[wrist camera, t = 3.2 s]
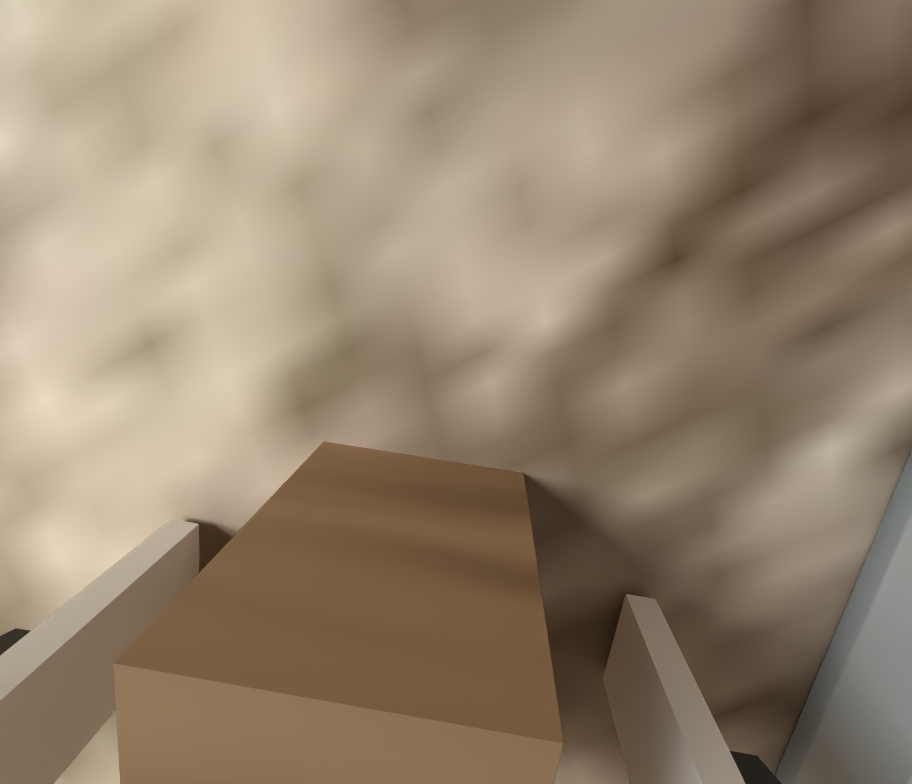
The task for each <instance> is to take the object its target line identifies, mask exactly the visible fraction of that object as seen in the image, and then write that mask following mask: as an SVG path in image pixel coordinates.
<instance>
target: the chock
mask: <svg viewBox="0 0 912 784" xmlns="http://www.w3.org/2000/svg"><path fill="white" fill-rule="evenodd" d="M113 667H114V684H115V700H116V717H117V733H118V750H119V766H120V783H121V784H553V783H554V779H555V775H556V772H557V768H558V764H559V760H560V756H561V752H562V748H563V744H564V742H563V735H562V728H561V722H560V715H559V708H558V701H557V695H556V688H555V681H554V674H553V668H552V661H551V654H550V648H549V641H548V634H547V627H546V621H545V614H544V607H543V600H542V594H541V587H540V580H539V573H538V567H537V560H536V553H535V546H534V540H533V533H532V526H531V520H530V513H529V506H528V499H527V493H526V486H525V479H524V473H519V472H513V471H506V470H500V469H494V468H487V467H481V466H475V465H468V464H462V463H456V462H449V461H443V460H437V459H430V458H424V457H418V456H411V455H405V454H399V453H392V452H386V451H380V450H373V449H367V448H361V447H354V446H348V445H342V444H335V443H329V442H323V443H322V444H321V445H320V446H319V447H318V448H317V449H316V450H315V451H314V453H313V454H312V455H311V456H310V457H309V458H308V459H307V460H306V461H305V462H304V463H303V464H302V465H301V466H300V467H299V468H298V469H297V470H296V472H295V473H294V474H293V475H292V476H291V477H290V478H289V479H288V480H287V481H286V482H285V483H284V484H283V485H282V486H281V487H280V488H279V489H278V490H277V492H276V493H275V494H274V495H273V496H272V497H271V498H270V499H269V500H268V501H267V502H266V503H265V504H264V505H263V506H262V507H261V508H260V509H259V510H258V512H257V513H256V514H255V515H254V516H253V517H252V518H251V519H250V520H249V521H248V522H247V523H246V524H245V525H244V526H243V527H242V528H241V529H240V530H239V532H238V533H237V534H236V535H235V536H234V537H233V538H232V539H231V540H230V541H229V542H228V543H227V544H226V545H225V546H224V547H223V548H222V549H221V550H220V552H219V553H218V554H217V555H216V556H215V557H214V558H213V559H212V560H211V561H210V562H209V563H208V564H207V565H206V566H205V567H204V568H203V569H202V570H201V572H200V573H199V574H198V575H197V576H196V577H195V578H194V579H193V580H192V581H191V582H190V583H189V584H188V585H187V586H186V587H185V588H184V589H183V590H182V592H181V593H180V594H179V595H178V596H177V597H176V598H175V599H174V600H173V601H172V602H171V603H170V604H169V605H168V606H167V607H166V608H165V609H164V610H163V612H162V613H161V614H160V615H159V616H158V617H157V618H156V619H155V620H154V621H153V622H152V623H151V624H150V625H149V626H148V627H147V628H146V629H145V630H144V632H143V633H142V634H141V635H140V636H139V637H138V638H137V639H136V640H135V641H134V642H133V643H132V644H131V645H130V646H129V647H128V648H127V649H126V650H125V652H124V653H123V654H122V655H121V656H120V657H119V658H118V659H117V660H116V661H115V662H114V663H113Z"/></svg>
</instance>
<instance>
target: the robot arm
mask: <svg viewBox="0 0 912 784" xmlns="http://www.w3.org/2000/svg"><path fill="white" fill-rule="evenodd" d="M198 574H199V524H197V523H191V522H185V521H179V520H173V519H171V520H169V521H168V522H167V523H166V524H164V525H163V526H162V527H161V528H159V529H158V530H157V531H156V532H154V533H153V534H152V535H151V536H149V537H148V538H147V539H146V540H144V541H143V542H142V543H141V544H139V545H138V546H137V547H136V548H134V549H133V550H132V551H131V552H129V553H128V554H127V555H126V556H124V557H123V558H122V559H121V560H119V561H118V562H117V563H116V564H114V565H113V566H112V567H111V568H109V569H108V570H107V571H106V572H104V573H103V574H102V575H101V576H99V577H98V578H97V579H95V580H94V581H93V582H92V583H90V584H89V585H88V586H87V587H85V588H84V589H83V590H82V591H80V592H79V593H78V594H77V595H75V596H74V597H73V598H72V599H70V600H69V601H68V602H67V603H65V604H64V605H63V606H62V607H60V608H59V609H58V610H57V611H55V612H54V613H53V614H52V615H50V616H49V617H48V618H47V619H45V620H44V621H43V622H42V623H40V624H39V625H38V626H37V627H35V628H34V629H33V630H32V631H28V630H22V629H17V628H16V629H14V630H12V631H10V632H8V633H6V634H4V635H2V636H0V784H54V782H55V781H56V780H57V779H58V778H59V777H60V775H61V774H62V773H63V772H64V771H65V769H66V768H67V767H68V766H69V765H70V763H71V762H72V761H73V760H74V759H75V758H76V756H77V755H78V754H79V753H80V752H81V750H82V749H83V748H84V747H85V746H86V744H87V743H88V742H89V741H90V740H91V739H92V737H93V736H94V735H95V734H96V733H97V731H98V730H99V729H100V728H101V727H102V725H103V724H104V723H105V722H106V721H107V720H108V718H109V717H110V716H111V715H112V714H113V712H114V711H115V710H116V700H115V684H114V667H113V663H114V662H115V661H116V660H117V659H118V658H119V657H120V656H121V655H122V654H123V653H124V652H125V650H126V649H127V648H128V647H129V646H130V645H131V644H132V643H133V642H134V641H135V640H136V639H137V638H138V637H139V636H140V635H141V634H142V633H143V632H144V630H145V629H146V628H147V627H148V626H149V625H150V624H151V623H152V622H153V621H154V620H155V619H156V618H157V617H158V616H159V615H160V614H161V613H162V612H163V610H164V609H165V608H166V607H167V606H168V605H169V604H170V603H171V602H172V601H173V600H174V599H175V598H176V597H177V596H178V595H179V594H180V593H181V592H182V590H183V589H184V588H185V587H186V586H187V585H188V584H189V583H190V582H191V581H192V580H193V579H194V578H195V577H196V576H197V575H198ZM603 682H604V686H605V690H606V694H607V697H608V701H609V705H610V709H611V713H612V716H613V720H614V724H615V728H616V731H617V735H618V739H619V743H620V746H621V750H622V754H623V758H624V761H625V765H626V769H627V773H628V777H629V780H630V784H782V783H781V782H780V781H779V780H778V779H777V778H776V777H775V776H774V774H773V773H772V772H771V771H770V770H769V769H768V768H767V767H766V765H765V764H764V763H763V762H762V761H761V760H760V759H759V757H758V756H756V755H750V754H744V753H739V752H733V751H729V749H728V747H727V745H726V743H725V740H724V738H723V736H722V734H721V732H720V730H719V728H718V726H717V724H716V722H715V720H714V718H713V716H712V714H711V712H710V710H709V708H708V706H707V703H706V701H705V699H704V697H703V695H702V693H701V691H700V689H699V687H698V685H697V683H696V681H695V679H694V677H693V675H692V673H691V671H690V669H689V667H688V664H687V662H686V660H685V658H684V656H683V654H682V652H681V650H680V648H679V646H678V644H677V642H676V640H675V638H674V636H673V634H672V632H671V630H670V627H669V625H668V623H667V621H666V619H665V617H664V615H663V613H662V611H661V609H660V607H659V605H658V603H657V601H656V599H653V598H647V597H641V596H635V595H629V594H626V595H625V599H624V602H623V606H622V610H621V614H620V617H619V621H618V625H617V628H616V632H615V636H614V639H613V643H612V647H611V650H610V654H609V658H608V661H607V665H606V669H605V673H604V676H603Z"/></svg>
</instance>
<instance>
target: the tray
mask: <svg viewBox="0 0 912 784" xmlns="http://www.w3.org/2000/svg"><path fill="white" fill-rule="evenodd" d="M775 777H776V778H777V779H778V780H779V781H780V782H781V783H782V784H912V450H911V452H910V455H909V457H908V460H907V462H906V464H905V467H904V469H903V472H902V474H901V476H900V479H899V481H898V483H897V486H896V488H895V491H894V493H893V495H892V498H891V500H890V503H889V505H888V507H887V510H886V512H885V514H884V517H883V519H882V522H881V524H880V526H879V529H878V531H877V534H876V536H875V538H874V541H873V543H872V546H871V548H870V550H869V553H868V555H867V557H866V560H865V562H864V565H863V567H862V569H861V572H860V574H859V577H858V579H857V581H856V584H855V586H854V588H853V591H852V593H851V596H850V598H849V600H848V603H847V605H846V608H845V610H844V612H843V615H842V617H841V619H840V622H839V624H838V627H837V629H836V631H835V634H834V636H833V639H832V641H831V643H830V646H829V648H828V650H827V653H826V655H825V658H824V660H823V662H822V665H821V667H820V670H819V672H818V674H817V677H816V679H815V681H814V684H813V686H812V689H811V691H810V693H809V696H808V698H807V701H806V703H805V705H804V708H803V710H802V712H801V715H800V717H799V720H798V722H797V724H796V727H795V729H794V732H793V734H792V736H791V739H790V741H789V743H788V746H787V748H786V751H785V753H784V755H783V758H782V760H781V763H780V765H779V767H778V770H777V772H776V774H775Z"/></svg>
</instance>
